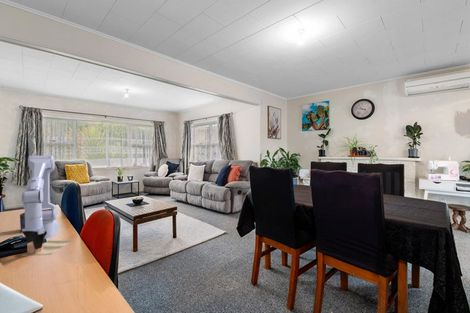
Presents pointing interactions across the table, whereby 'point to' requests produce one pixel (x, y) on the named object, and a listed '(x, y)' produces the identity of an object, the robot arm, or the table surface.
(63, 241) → the board
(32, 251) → the light brown wooden block
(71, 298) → the table surface
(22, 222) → the small box
